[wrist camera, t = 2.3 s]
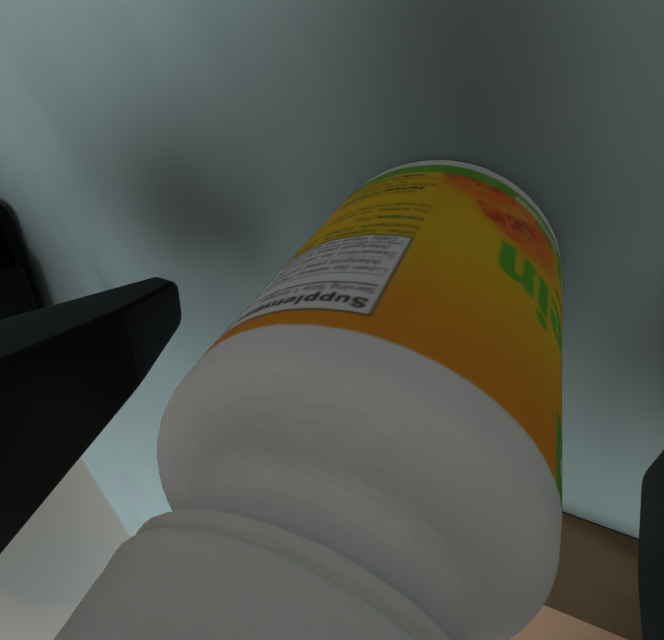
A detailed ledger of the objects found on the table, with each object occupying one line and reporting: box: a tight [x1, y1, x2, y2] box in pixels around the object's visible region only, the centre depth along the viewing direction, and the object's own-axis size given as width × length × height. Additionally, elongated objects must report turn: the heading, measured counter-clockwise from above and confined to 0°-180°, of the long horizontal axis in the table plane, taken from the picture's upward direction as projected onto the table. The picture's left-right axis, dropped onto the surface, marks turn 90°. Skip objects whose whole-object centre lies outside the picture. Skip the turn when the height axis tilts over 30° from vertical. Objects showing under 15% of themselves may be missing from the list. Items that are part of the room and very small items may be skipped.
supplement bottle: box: [54, 160, 563, 640], centre depth 8 cm, size 5×5×10 cm
